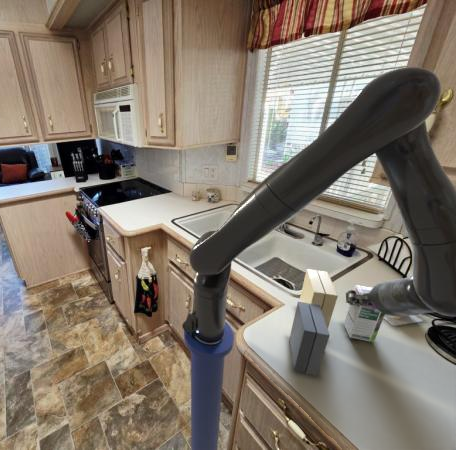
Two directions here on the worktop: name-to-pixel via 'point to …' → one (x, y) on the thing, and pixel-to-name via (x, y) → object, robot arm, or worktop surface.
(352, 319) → the syrup box
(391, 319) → the stacked layers on plate
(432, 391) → the worktop surface
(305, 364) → the grey books
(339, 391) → the worktop surface
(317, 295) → the cream cookbooks
